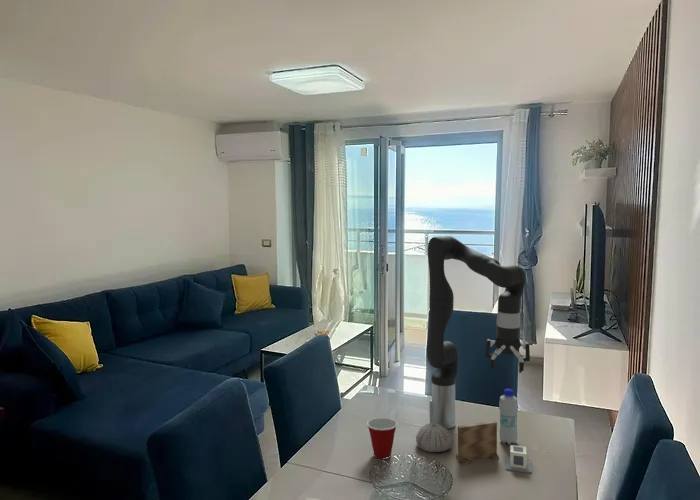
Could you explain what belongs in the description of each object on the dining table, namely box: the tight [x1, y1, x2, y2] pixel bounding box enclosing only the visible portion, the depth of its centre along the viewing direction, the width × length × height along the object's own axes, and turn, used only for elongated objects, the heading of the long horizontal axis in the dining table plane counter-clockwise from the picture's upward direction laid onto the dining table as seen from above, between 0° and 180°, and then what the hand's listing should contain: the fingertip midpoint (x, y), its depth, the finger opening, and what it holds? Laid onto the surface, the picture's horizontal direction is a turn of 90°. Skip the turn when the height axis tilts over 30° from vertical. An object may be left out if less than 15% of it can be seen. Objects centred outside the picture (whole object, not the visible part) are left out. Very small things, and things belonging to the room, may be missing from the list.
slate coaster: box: [505, 455, 533, 474], centre depth 159 cm, size 8×8×1 cm
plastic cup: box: [366, 417, 398, 460], centre depth 168 cm, size 11×11×12 cm
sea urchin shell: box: [415, 423, 454, 453], centre depth 173 cm, size 13×14×8 cm
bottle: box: [498, 388, 519, 446], centre depth 175 cm, size 7×7×20 cm
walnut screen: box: [455, 420, 500, 465], centre depth 164 cm, size 14×5×12 cm, turn 104°
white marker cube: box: [509, 444, 528, 469], centre depth 159 cm, size 5×5×5 cm
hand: (506, 370), depth 163 cm, fingers open, 8 cm apart
